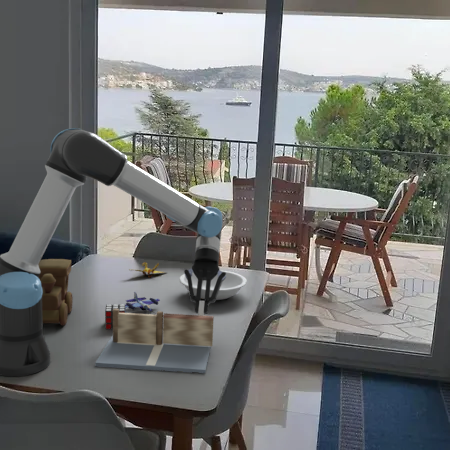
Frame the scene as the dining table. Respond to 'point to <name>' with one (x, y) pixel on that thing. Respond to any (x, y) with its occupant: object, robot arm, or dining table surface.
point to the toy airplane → (141, 303)
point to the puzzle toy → (110, 314)
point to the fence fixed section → (138, 327)
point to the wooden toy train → (55, 290)
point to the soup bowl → (227, 288)
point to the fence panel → (188, 329)
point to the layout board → (154, 356)
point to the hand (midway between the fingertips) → (200, 323)
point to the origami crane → (149, 269)
